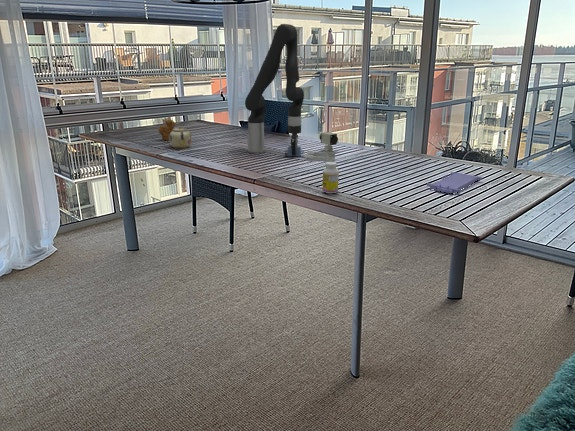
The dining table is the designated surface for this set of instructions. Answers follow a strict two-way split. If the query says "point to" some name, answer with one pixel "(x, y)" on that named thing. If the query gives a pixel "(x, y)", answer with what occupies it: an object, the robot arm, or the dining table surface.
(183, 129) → the teapot
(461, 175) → the computer part
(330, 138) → the pneumatic valve
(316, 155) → the plate
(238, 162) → the dining table surface
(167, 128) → the stuffed squirrel
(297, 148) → the block
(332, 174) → the supplement bottle
